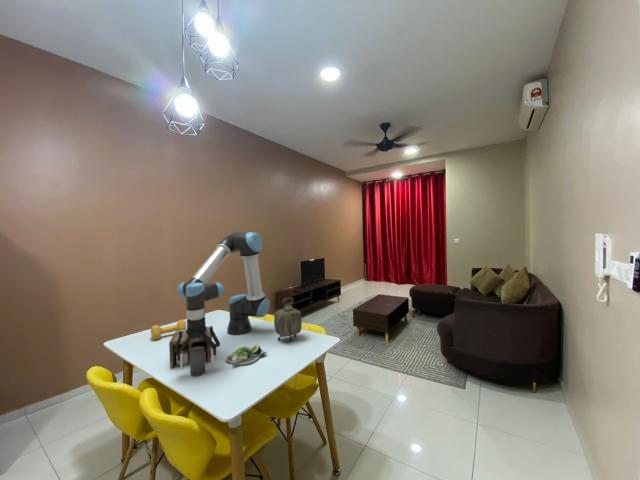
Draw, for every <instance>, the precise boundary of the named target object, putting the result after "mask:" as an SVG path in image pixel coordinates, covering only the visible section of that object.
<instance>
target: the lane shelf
mask: <svg viewBox="0 0 640 480" xmlns="http://www.w3.org/2000/svg"><path fill="white" fill-rule="evenodd" d="M210 326H211V325H210ZM210 326H208V327H210ZM186 330H187V328H186ZM179 332H180V330H178V331H174V332H173V335H172V337H171V339H170V341H169V343H168V347H169V348H168V349H169V369H174V367H175V364H176V363H177V362H176V354H177V353H173V350H174V347H175V345H176V343H177V340H178V338H179ZM205 333H206V335H207V336H208V337H209V338H210V339H211V340H212V341H213V337H212V336H211V334H210V332H208V330H206V332H205ZM187 338H188V335H187V333H185V334H184V335H183V336H182V338H181V341H180V343H179V346H178V348H177V349H180V347H181V346H182V344H183V343H184V342H185V340H186V339H187ZM198 346H203V347H206V349H207V363H210V362H212V359H211V348H212V347H211V346H210V345H209V344H208V343H207V342H206V341H205V339H203V338H202V337H201V338H196V339H192V338H191V339H190V341H189V342H188V343H187V344H186V346H185V347H184V349H187V348H189V361H188V364H189V366H190V349H192V348H194V347H198Z"/></svg>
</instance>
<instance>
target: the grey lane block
mask: <svg viewBox="0 0 640 480" xmlns="http://www.w3.org/2000/svg"><path fill="white" fill-rule="evenodd" d="M182 351H183V364H189V348H187V349H183V350H182ZM182 351H181V352H182ZM175 363H176V365H177V366H179V365H180V361H178V355H177V354H176V362H175Z"/></svg>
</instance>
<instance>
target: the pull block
mask: <svg viewBox="0 0 640 480" xmlns="http://www.w3.org/2000/svg"><path fill="white" fill-rule="evenodd" d="M207 359H208V353H207V349H206V347H203V346H198V347H194V348H192V349H190V365H189V367H190V368H189V369H190V370H189V371H190V376H191V377H195V378H196V377H199V376H202V375H204V374H205V372H206V362H207Z"/></svg>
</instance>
